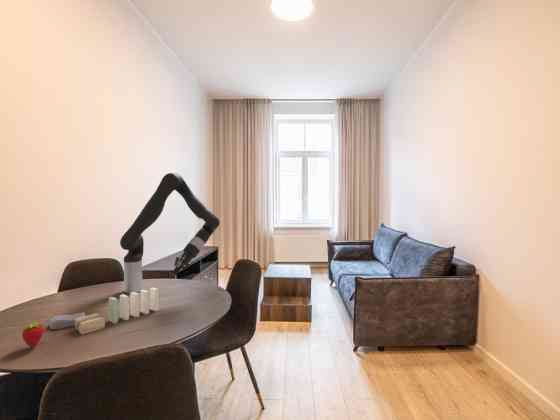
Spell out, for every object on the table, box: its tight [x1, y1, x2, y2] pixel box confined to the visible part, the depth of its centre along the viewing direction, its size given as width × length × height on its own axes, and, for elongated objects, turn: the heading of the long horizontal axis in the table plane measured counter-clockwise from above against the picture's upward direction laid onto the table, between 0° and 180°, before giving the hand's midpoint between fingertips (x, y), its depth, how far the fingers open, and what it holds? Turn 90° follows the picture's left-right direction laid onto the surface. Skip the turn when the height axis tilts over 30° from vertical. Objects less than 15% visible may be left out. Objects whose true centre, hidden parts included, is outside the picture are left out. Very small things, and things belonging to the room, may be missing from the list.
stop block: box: [74, 313, 106, 335], centre depth 120 cm, size 8×8×4 cm
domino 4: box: [139, 289, 150, 315], centre depth 137 cm, size 2×5×10 cm, turn 50°
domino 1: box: [108, 296, 119, 325], centre depth 127 cm, size 2×5×10 cm, turn 50°
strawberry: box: [21, 319, 45, 348], centre depth 104 cm, size 6×8×10 cm
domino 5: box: [149, 287, 160, 312], centre depth 141 cm, size 2×5×10 cm, turn 50°
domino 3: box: [129, 292, 140, 318], centre depth 134 cm, size 2×5×10 cm, turn 50°
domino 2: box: [119, 293, 130, 321], centre depth 130 cm, size 2×5×10 cm, turn 50°
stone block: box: [49, 312, 87, 330], centre depth 125 cm, size 12×5×10 cm
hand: (173, 274), depth 148 cm, fingers closed
